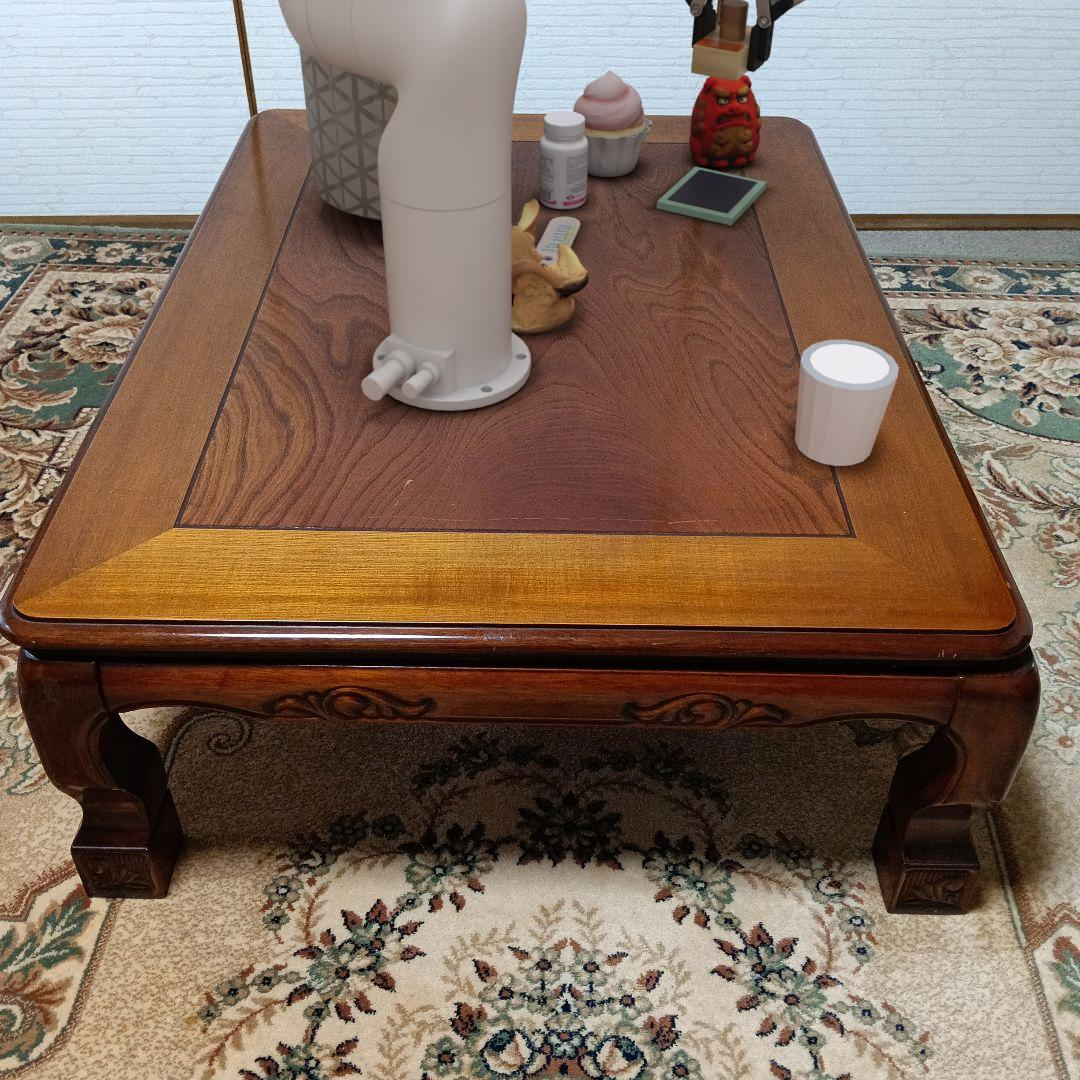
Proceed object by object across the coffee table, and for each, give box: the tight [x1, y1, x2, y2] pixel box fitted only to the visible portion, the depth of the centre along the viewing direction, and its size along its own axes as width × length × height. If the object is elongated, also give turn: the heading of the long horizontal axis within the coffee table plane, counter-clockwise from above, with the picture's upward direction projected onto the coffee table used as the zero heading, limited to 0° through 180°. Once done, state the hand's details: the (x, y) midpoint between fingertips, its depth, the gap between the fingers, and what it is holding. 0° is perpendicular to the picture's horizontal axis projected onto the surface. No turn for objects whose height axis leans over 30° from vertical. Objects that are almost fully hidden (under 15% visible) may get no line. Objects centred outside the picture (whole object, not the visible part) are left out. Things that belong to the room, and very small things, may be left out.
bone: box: [511, 198, 590, 335], centre depth 102 cm, size 12×10×8 cm
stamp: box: [690, 0, 754, 81], centre depth 112 cm, size 8×4×6 cm, turn 152°
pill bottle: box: [538, 110, 588, 210], centre depth 119 cm, size 5×5×8 cm
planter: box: [298, 45, 398, 223], centre depth 114 cm, size 19×19×18 cm
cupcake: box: [572, 69, 653, 178], centre depth 125 cm, size 9×9×10 cm
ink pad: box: [656, 166, 768, 227], centre depth 122 cm, size 10×8×1 cm
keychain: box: [535, 216, 581, 266], centre depth 114 cm, size 10×1×3 cm
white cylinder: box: [794, 339, 900, 467], centre depth 87 cm, size 7×7×7 cm
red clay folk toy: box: [688, 18, 762, 169], centre depth 126 cm, size 8×7×15 cm
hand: (729, 60), depth 113 cm, fingers closed on stamp, 4 cm apart
